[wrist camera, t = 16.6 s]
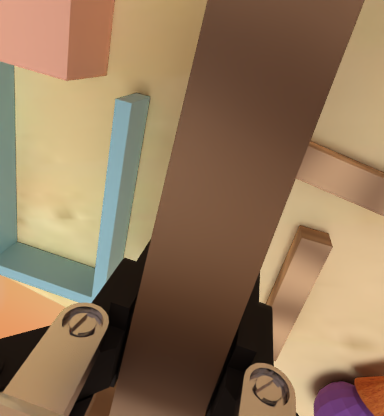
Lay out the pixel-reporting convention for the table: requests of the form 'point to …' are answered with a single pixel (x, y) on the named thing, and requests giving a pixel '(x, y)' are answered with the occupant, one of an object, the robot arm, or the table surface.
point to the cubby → (111, 212)
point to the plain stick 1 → (296, 281)
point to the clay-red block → (57, 36)
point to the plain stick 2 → (343, 177)
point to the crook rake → (225, 192)
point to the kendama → (351, 398)
